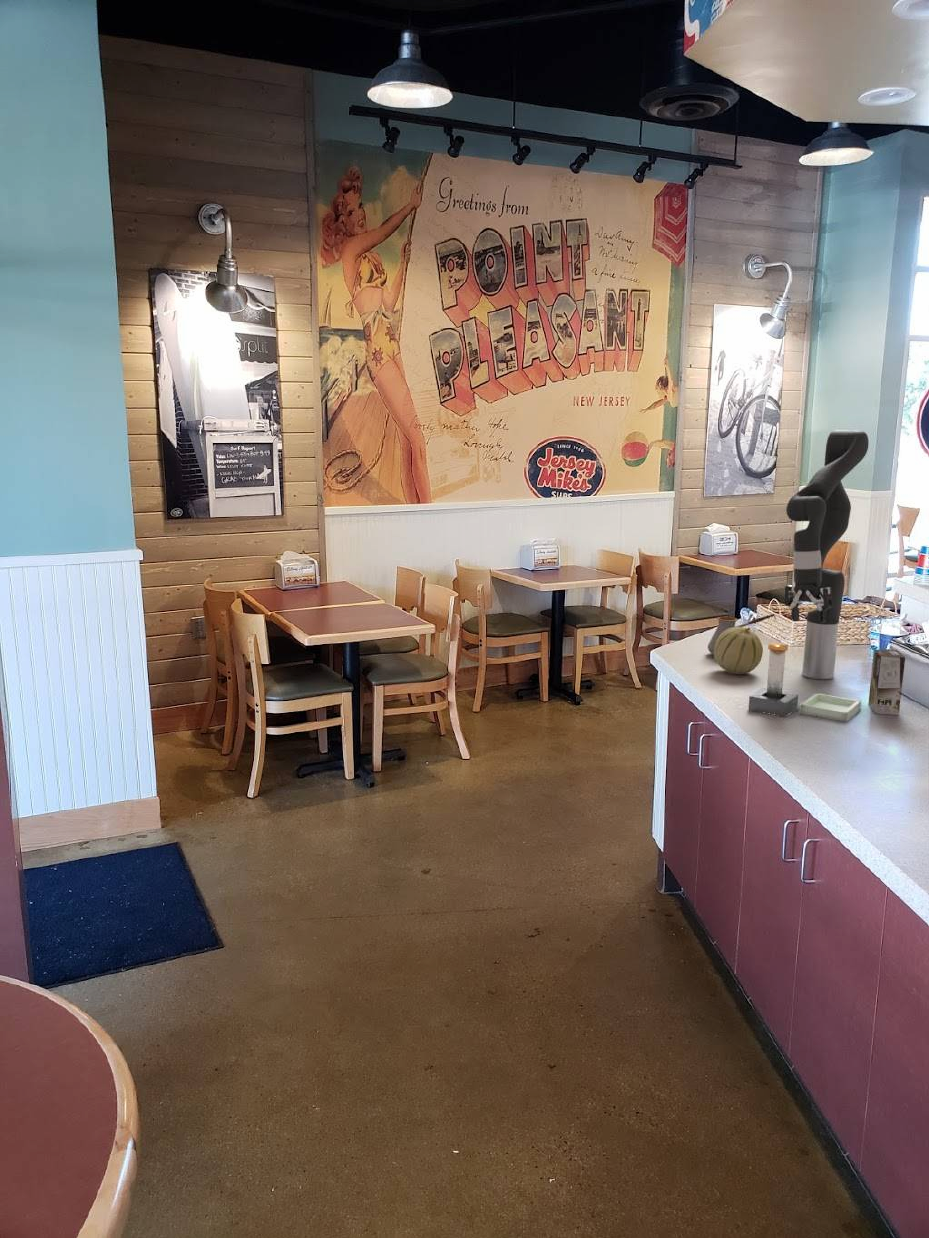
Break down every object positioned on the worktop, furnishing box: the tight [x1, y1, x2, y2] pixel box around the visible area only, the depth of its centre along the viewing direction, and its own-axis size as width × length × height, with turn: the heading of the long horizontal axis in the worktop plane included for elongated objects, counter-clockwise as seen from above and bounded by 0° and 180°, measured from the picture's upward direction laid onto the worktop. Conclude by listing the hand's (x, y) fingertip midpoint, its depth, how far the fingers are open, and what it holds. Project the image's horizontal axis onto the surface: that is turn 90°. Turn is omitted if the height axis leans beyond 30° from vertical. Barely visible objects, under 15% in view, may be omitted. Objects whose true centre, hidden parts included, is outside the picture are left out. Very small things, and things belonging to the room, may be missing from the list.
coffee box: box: [868, 648, 906, 716], centre depth 259 cm, size 9×6×16 cm
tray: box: [799, 692, 862, 723], centre depth 258 cm, size 14×12×2 cm
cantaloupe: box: [713, 626, 764, 675], centre depth 294 cm, size 15×15×15 cm
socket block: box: [748, 687, 799, 718], centre depth 259 cm, size 10×10×4 cm
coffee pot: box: [707, 613, 777, 657], centre depth 315 cm, size 21×12×15 cm, turn 82°
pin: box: [766, 642, 789, 699], centre depth 258 cm, size 5×5×18 cm
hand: (808, 622), depth 274 cm, fingers open, 8 cm apart
